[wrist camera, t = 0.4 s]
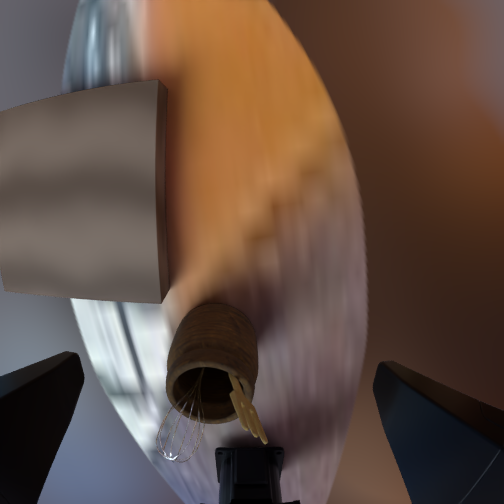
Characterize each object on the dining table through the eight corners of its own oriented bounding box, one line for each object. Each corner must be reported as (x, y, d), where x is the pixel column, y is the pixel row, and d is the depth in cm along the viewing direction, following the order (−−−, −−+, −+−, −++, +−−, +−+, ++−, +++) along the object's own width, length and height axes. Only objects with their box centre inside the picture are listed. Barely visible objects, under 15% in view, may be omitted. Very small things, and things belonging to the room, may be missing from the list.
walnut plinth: (169, 289, 22) (161, 303, 20) (21, 281, 22) (4, 291, 19) (167, 88, 18) (158, 79, 16) (11, 116, 18) (-8, 114, 16)
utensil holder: (162, 330, 23) (112, 448, 11) (223, 281, 22) (205, 396, 10) (214, 378, 24) (201, 502, 13) (275, 336, 23) (298, 463, 12)
